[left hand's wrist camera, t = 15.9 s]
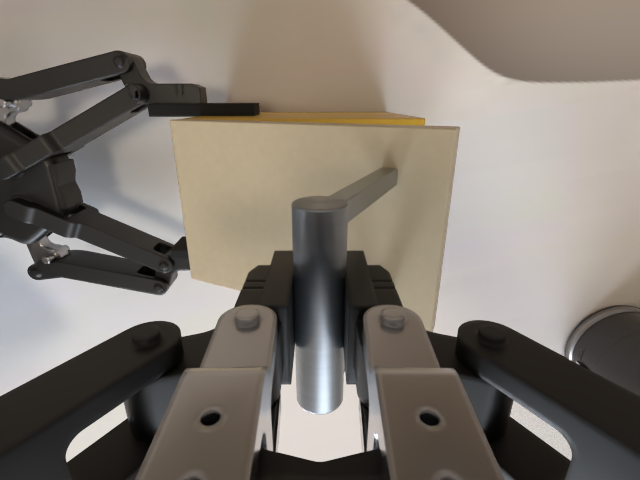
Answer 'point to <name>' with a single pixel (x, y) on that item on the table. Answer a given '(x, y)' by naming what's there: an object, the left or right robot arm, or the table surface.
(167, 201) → the table surface
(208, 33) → the table surface
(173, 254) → the right robot arm
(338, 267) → the lid
